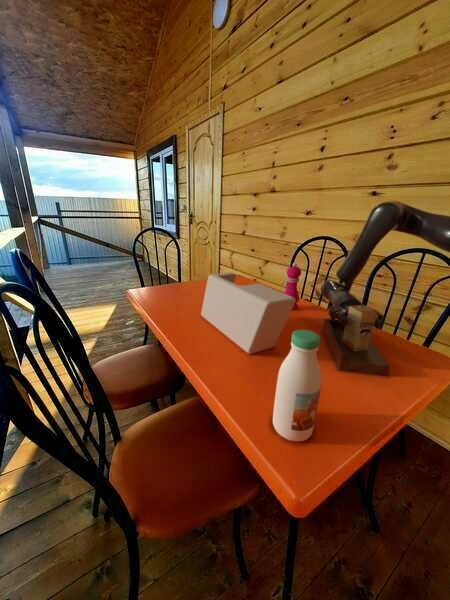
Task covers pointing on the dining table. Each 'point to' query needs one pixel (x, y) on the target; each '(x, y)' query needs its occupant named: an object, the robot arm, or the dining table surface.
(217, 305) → the stepped white block
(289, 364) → the milk bottle
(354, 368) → the dark brown tray
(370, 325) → the shoe polish box
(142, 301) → the dining table surface
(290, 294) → the pepper mill
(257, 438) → the dining table surface
